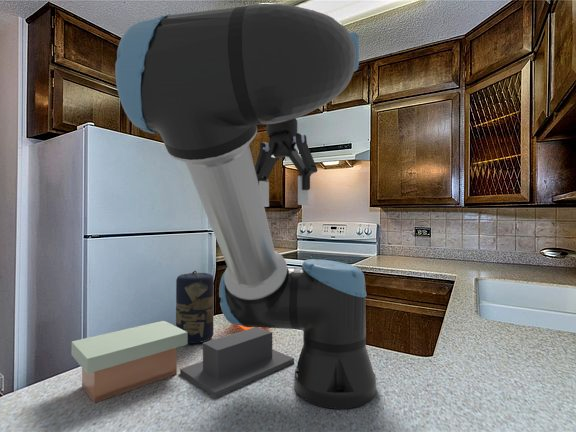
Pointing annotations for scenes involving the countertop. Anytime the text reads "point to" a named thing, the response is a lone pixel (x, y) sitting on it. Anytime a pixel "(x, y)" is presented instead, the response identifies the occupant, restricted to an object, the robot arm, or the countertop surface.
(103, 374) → the dish
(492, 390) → the countertop surface
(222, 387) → the mat stand
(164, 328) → the board
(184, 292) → the canister
